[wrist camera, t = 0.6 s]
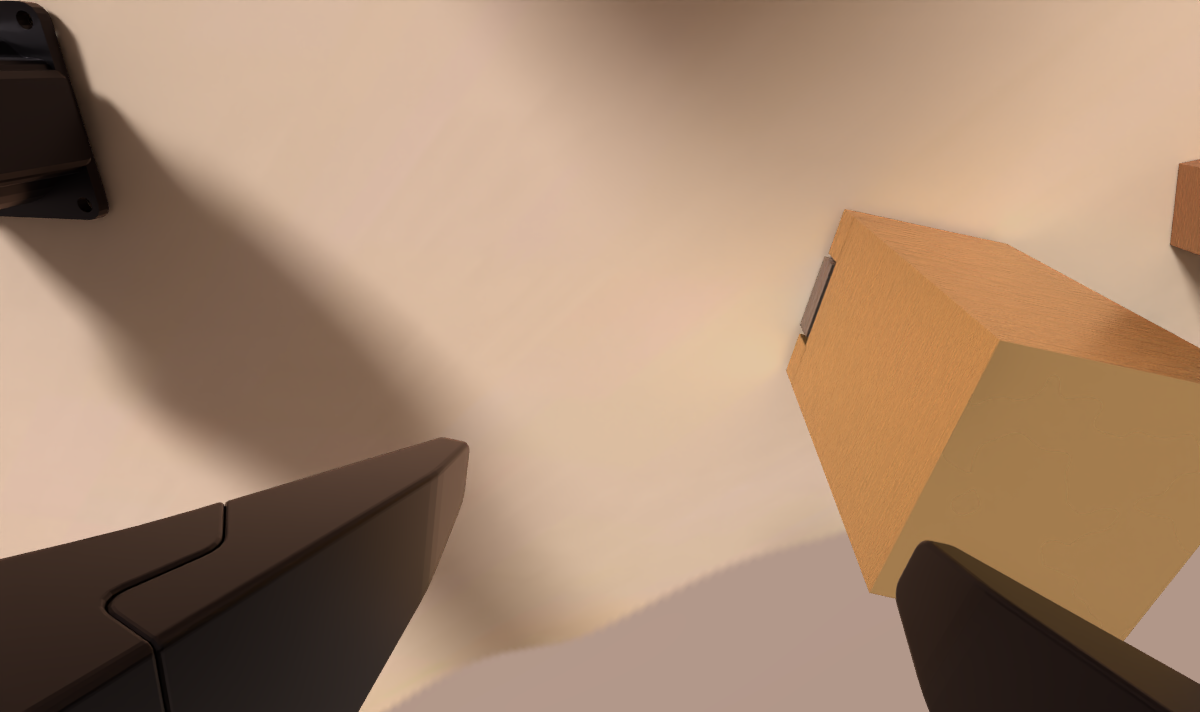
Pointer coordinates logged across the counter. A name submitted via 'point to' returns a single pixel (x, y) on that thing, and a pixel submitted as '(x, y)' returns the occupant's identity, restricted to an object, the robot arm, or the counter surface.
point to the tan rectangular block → (1000, 419)
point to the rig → (1192, 230)
